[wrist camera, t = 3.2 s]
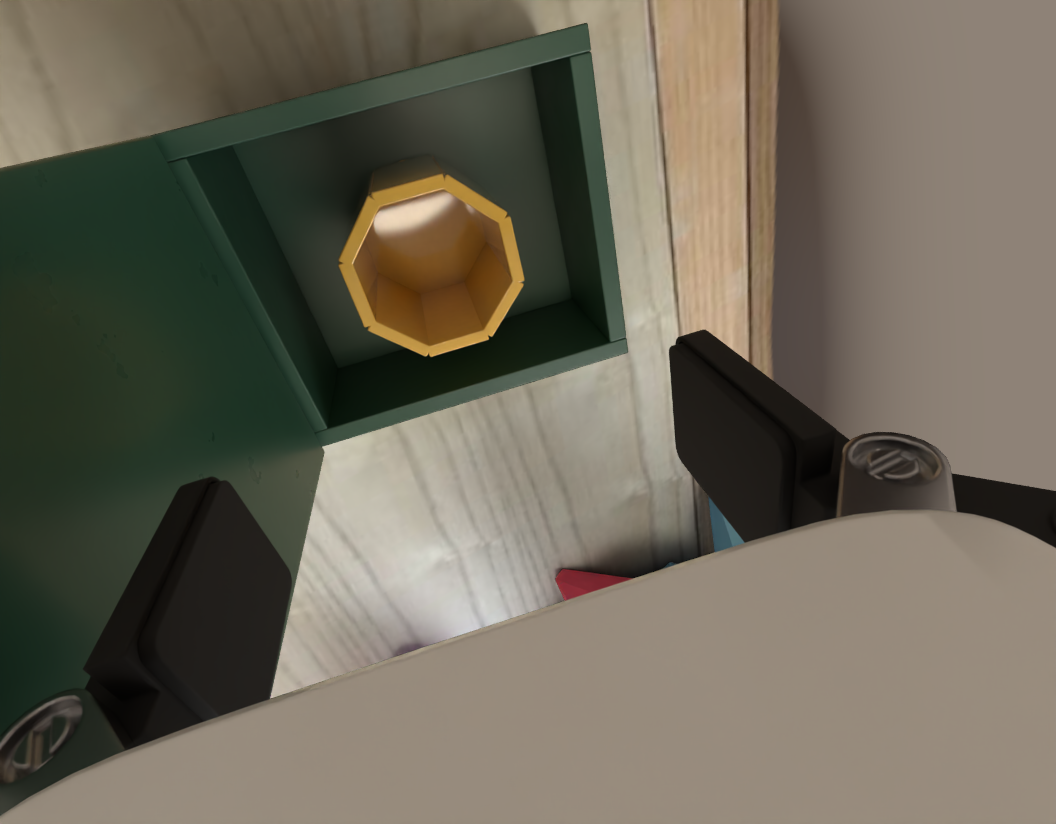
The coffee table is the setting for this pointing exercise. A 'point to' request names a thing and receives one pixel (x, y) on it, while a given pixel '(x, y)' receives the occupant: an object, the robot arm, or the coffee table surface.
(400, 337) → the ceramic cup
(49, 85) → the coffee table surface
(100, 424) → the lid
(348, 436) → the green open box
